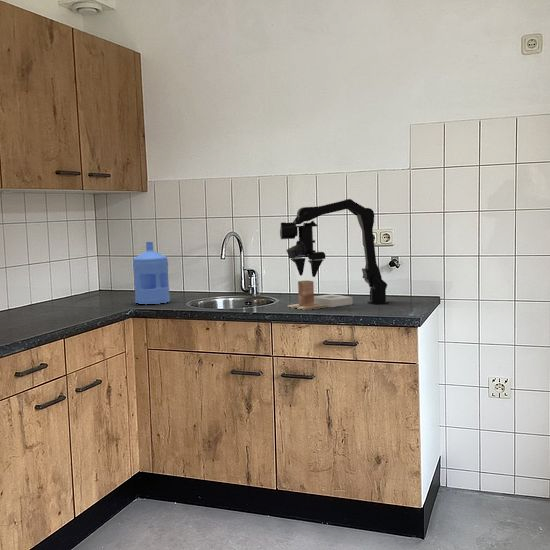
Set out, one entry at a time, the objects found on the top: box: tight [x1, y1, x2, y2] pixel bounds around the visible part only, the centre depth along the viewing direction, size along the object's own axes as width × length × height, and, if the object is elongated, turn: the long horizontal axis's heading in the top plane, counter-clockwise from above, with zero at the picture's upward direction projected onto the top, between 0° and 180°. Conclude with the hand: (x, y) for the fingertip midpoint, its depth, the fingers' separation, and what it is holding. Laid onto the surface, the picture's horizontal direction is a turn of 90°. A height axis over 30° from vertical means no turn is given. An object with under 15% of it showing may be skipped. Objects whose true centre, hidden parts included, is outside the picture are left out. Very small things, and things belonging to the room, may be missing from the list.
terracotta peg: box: [297, 280, 315, 307], centre depth 271 cm, size 4×4×10 cm
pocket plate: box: [314, 293, 354, 308], centre depth 278 cm, size 14×11×3 cm
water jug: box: [132, 241, 171, 305], centre depth 302 cm, size 16×16×28 cm
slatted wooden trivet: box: [287, 303, 327, 311], centre depth 272 cm, size 13×10×1 cm
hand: (307, 276), depth 271 cm, fingers open, 9 cm apart
